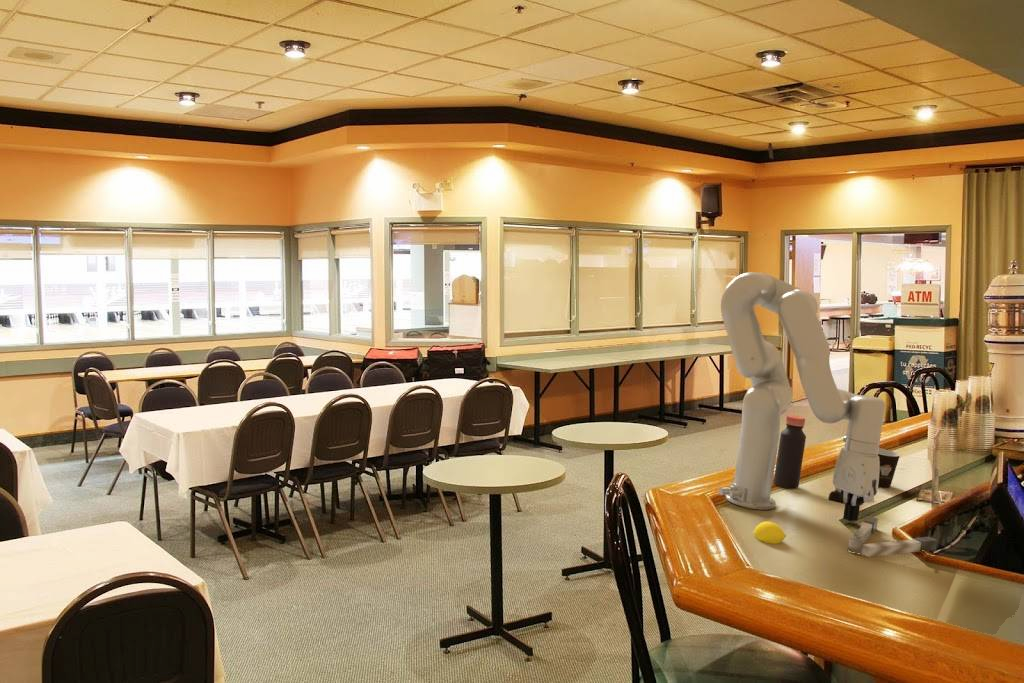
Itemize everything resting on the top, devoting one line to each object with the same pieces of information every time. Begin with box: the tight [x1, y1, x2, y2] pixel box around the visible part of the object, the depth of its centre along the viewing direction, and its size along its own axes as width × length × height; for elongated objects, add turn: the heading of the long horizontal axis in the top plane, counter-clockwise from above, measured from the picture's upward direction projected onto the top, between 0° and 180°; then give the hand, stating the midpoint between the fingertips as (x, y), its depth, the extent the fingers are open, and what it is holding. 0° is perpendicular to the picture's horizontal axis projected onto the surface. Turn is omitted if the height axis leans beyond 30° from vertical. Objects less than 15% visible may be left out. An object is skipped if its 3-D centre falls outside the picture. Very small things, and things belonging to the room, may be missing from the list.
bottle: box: [773, 414, 807, 490], centre depth 231 cm, size 7×7×20 cm
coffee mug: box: [878, 448, 901, 489], centre depth 245 cm, size 12×9×10 cm
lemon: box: [753, 520, 787, 545], centre depth 181 cm, size 7×5×5 cm
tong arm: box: [851, 515, 879, 544], centre depth 190 cm, size 18×2×3 cm, turn 146°
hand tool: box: [828, 489, 845, 505], centre depth 226 cm, size 19×4×5 cm, turn 146°
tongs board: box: [847, 536, 938, 558], centre depth 187 cm, size 28×20×4 cm
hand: (850, 519), depth 200 cm, fingers closed
